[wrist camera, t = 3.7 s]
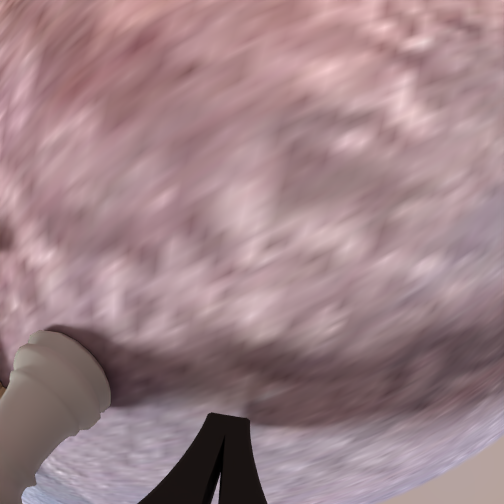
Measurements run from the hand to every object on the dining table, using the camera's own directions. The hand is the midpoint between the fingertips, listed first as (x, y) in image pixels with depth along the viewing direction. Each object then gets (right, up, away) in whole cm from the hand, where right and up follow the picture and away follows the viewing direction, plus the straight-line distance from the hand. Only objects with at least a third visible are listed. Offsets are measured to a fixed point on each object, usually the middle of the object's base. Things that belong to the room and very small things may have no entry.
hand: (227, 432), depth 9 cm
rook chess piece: (-7, +1, +1) cm, 7 cm away
